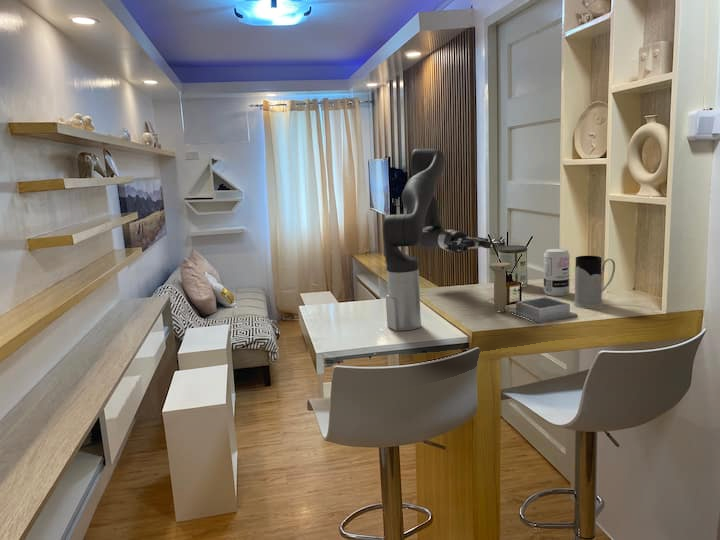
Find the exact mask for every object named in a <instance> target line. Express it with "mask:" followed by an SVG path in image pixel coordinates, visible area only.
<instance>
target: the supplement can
mask: <svg viewBox="0 0 720 540" xmlns="http://www.w3.org/2000/svg"><path fill="white" fill-rule="evenodd" d="M570 265H571V264H570V253H569V251H568V249H566V248H548V249H545V252H544V253H543V292H544V293H545V295H547V296H550V297H563V296H566V295H568V294H569V293H570Z"/></svg>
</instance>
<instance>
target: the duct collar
mask: <svg viewBox="0 0 720 540" xmlns="http://www.w3.org/2000/svg"><path fill="white" fill-rule="evenodd" d="M515 307H516V309H513V310H509V311H508V313H509V312H510V313H513V314H516V315H519V316H522V317H525V318H527V319H529V320H532V321H534V322H533V323H535V322H536V323H535V324H537V323H538V325H540V324H544V323H550V322H555V321H559V320H566V319H570V318H575V317H578V313H576V312H575V313H574V312H572V311H571V304H570V303H567V302H564V301H561V300H558V299H554V298H551V297H548V296H543V297H537V298H531V299H526V300H525V299H524V300H520V301H516V302H515ZM510 313H509V314H510ZM513 314H512V315H513ZM516 315H515V316H516ZM519 316H518V317H519ZM527 319H526V320H527ZM529 320H528V321H529ZM532 321H531V322H532ZM539 323H540V324H539Z"/></svg>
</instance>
